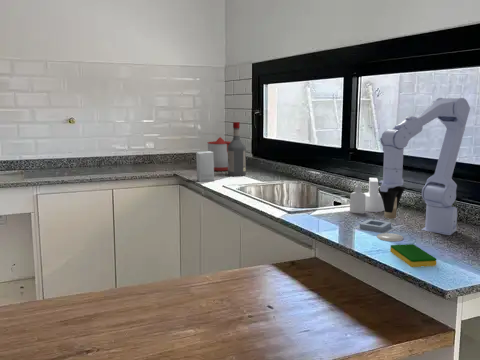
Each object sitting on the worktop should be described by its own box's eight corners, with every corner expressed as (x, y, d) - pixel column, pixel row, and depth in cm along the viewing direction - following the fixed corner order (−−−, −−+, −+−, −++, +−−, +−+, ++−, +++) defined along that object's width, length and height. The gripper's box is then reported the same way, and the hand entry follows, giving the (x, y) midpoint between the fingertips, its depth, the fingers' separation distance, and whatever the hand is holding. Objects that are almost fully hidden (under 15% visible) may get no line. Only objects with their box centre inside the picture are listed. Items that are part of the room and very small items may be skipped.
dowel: (398, 217, 159) (399, 196, 158) (392, 219, 157) (393, 198, 156) (387, 215, 162) (388, 195, 161) (382, 217, 159) (383, 197, 158)
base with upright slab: (385, 212, 196) (386, 181, 194) (361, 211, 198) (362, 181, 196) (383, 207, 205) (384, 178, 203) (360, 206, 207) (361, 177, 205)
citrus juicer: (226, 173, 296) (225, 138, 293) (202, 170, 306) (201, 137, 302) (240, 169, 309) (240, 136, 306) (217, 167, 319) (217, 135, 315)
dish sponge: (412, 251, 149) (413, 243, 149) (436, 267, 135) (437, 258, 135) (389, 252, 148) (390, 244, 148) (411, 268, 135) (411, 259, 134)
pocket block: (397, 228, 173) (398, 222, 172) (386, 234, 165) (387, 229, 164) (364, 223, 180) (365, 217, 179) (352, 229, 172) (352, 223, 172)
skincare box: (211, 179, 275) (210, 150, 272) (214, 181, 268) (214, 152, 266) (196, 180, 272) (195, 151, 269) (199, 182, 266) (198, 152, 263)
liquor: (230, 177, 281) (230, 123, 276) (227, 174, 290) (226, 122, 285) (246, 176, 284) (246, 122, 278) (242, 173, 292) (242, 121, 287)
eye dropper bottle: (356, 211, 198) (356, 181, 196) (366, 213, 194) (367, 183, 192) (347, 212, 196) (348, 182, 194) (358, 215, 191) (359, 184, 189)
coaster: (406, 238, 161) (406, 235, 161) (397, 244, 155) (397, 241, 155) (382, 234, 166) (382, 231, 166) (372, 239, 159) (372, 237, 159)
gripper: (389, 164, 164) (387, 205, 167) (371, 169, 153) (369, 213, 155) (410, 166, 160) (408, 207, 163) (394, 171, 149) (392, 216, 151)
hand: (391, 210), depth 159 cm, fingers closed on dowel, 4 cm apart
